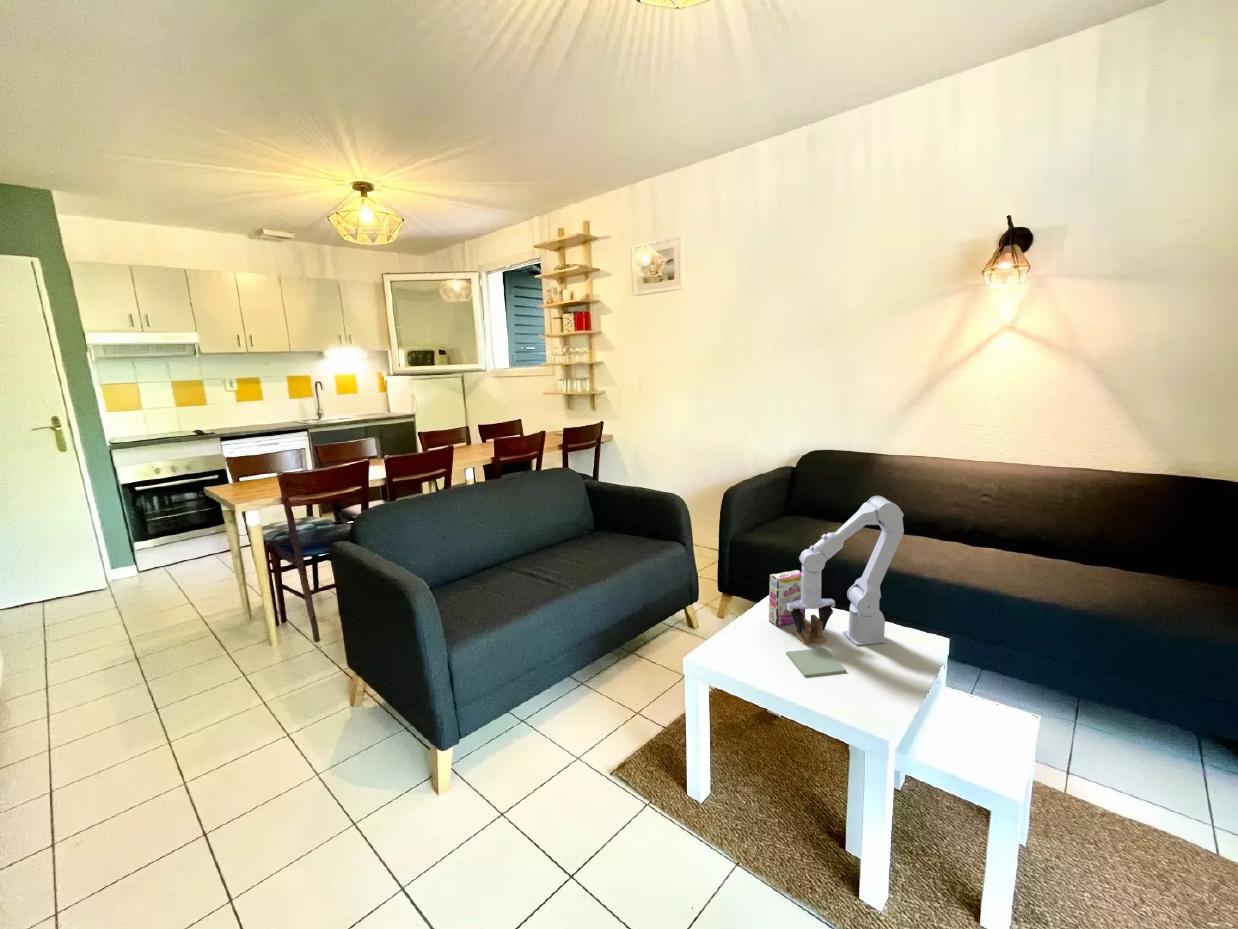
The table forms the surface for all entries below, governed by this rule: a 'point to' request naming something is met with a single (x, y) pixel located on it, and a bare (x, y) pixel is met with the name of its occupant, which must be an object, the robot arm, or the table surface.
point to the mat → (815, 662)
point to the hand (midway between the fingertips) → (810, 630)
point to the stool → (811, 631)
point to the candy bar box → (783, 596)
